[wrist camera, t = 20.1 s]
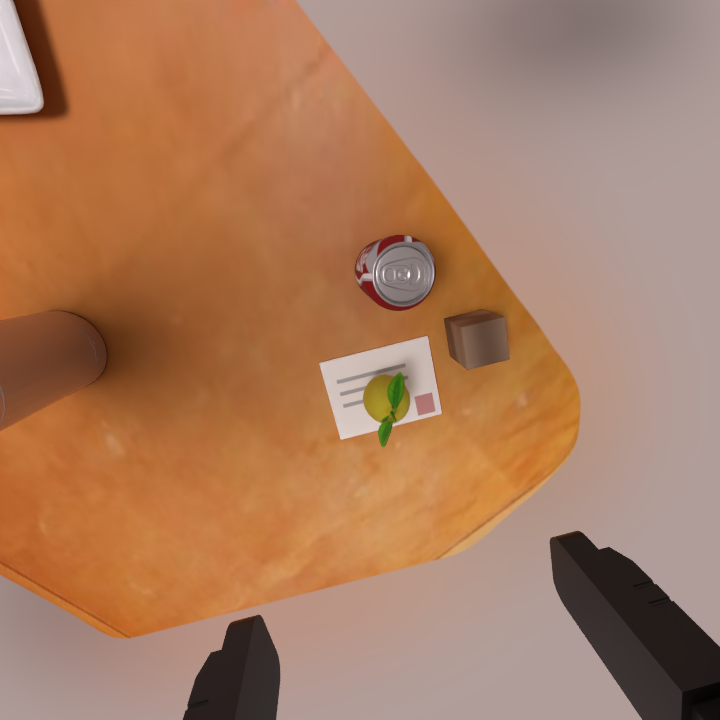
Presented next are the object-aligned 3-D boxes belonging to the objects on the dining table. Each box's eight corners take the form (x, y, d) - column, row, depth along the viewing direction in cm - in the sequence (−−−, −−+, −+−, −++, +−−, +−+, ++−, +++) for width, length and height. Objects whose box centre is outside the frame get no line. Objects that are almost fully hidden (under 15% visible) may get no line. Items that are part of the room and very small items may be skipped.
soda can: (409, 298, 44) (439, 313, 32) (354, 299, 43) (365, 314, 32) (411, 240, 42) (444, 233, 31) (354, 240, 41) (365, 233, 30)
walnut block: (449, 355, 46) (467, 369, 41) (443, 318, 45) (461, 327, 39) (487, 346, 47) (509, 359, 41) (482, 309, 45) (505, 316, 39)
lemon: (373, 420, 48) (385, 461, 38) (347, 387, 46) (353, 421, 36) (415, 391, 47) (438, 425, 37) (390, 356, 45) (407, 383, 36)
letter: (340, 438, 48) (340, 439, 48) (319, 362, 45) (319, 363, 45) (441, 412, 48) (442, 413, 48) (426, 335, 45) (427, 336, 45)
